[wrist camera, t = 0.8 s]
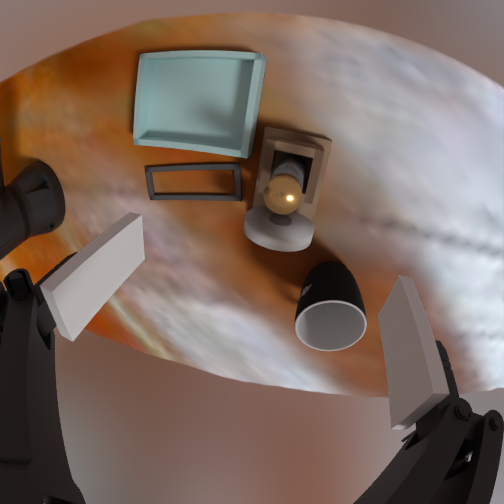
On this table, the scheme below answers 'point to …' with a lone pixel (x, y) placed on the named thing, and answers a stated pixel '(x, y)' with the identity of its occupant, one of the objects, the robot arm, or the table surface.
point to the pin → (285, 185)
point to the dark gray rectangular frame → (195, 196)
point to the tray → (199, 100)
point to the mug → (330, 309)
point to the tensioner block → (301, 220)
